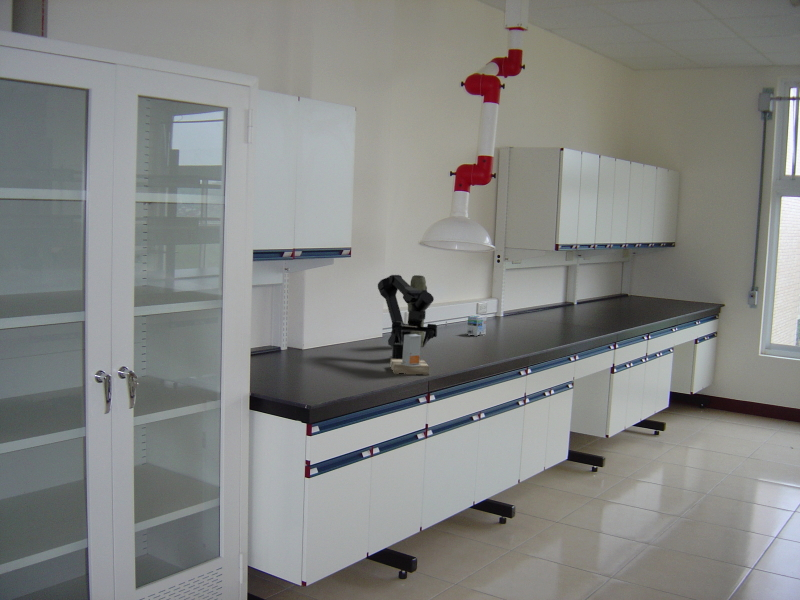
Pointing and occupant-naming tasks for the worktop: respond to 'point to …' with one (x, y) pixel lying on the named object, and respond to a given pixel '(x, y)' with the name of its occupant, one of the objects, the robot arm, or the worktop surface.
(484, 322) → the light bulb box
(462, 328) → the worktop surface
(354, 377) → the worktop surface
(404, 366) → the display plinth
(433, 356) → the worktop surface
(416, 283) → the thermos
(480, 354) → the worktop surface
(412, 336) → the skincare box
